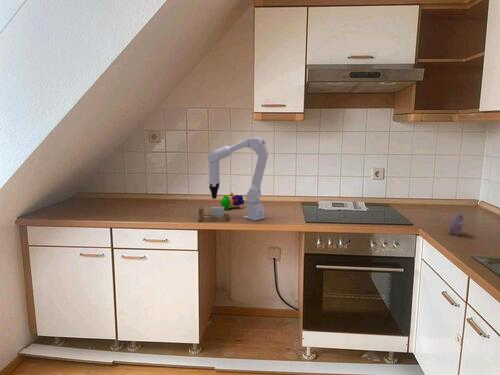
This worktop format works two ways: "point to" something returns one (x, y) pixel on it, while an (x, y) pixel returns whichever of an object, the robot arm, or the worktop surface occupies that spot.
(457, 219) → the figurine
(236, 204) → the toy
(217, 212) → the grey rectangular block
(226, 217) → the sill track
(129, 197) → the worktop surface
